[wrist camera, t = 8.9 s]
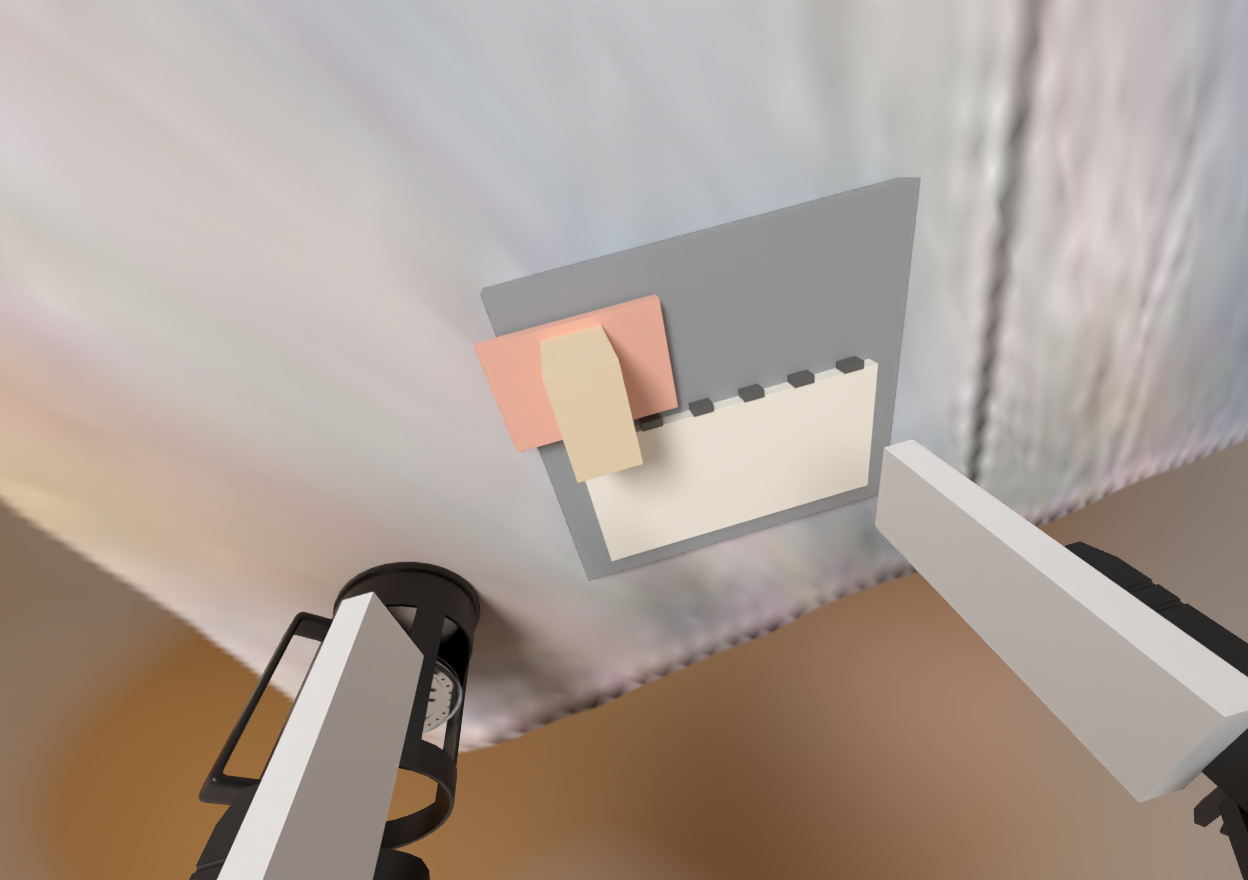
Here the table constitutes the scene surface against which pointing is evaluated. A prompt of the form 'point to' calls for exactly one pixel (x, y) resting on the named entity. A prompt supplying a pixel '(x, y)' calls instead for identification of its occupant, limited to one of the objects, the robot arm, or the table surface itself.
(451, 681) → the french press
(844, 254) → the board
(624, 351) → the stub
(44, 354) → the table surface
